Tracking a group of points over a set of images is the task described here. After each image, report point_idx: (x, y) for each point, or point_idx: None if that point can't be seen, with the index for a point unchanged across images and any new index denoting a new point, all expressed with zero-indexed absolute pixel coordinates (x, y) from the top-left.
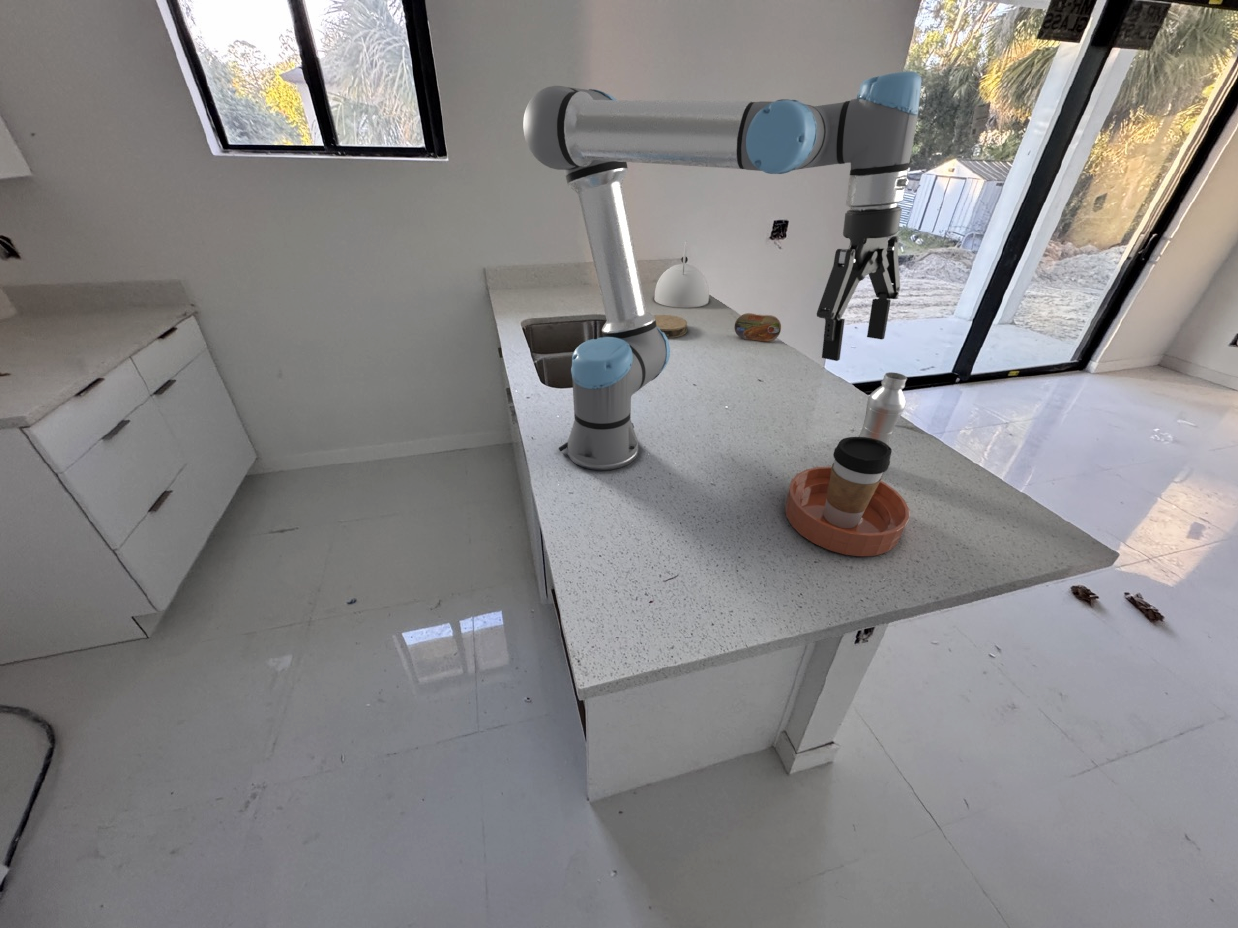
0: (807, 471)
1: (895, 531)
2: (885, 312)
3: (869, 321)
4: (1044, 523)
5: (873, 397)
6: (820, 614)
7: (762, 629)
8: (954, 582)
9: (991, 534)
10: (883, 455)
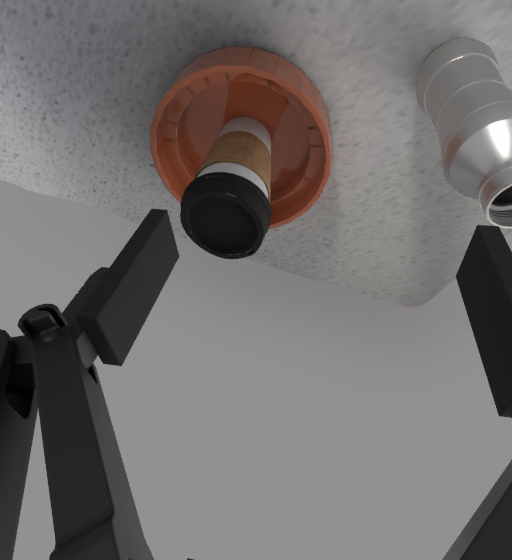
0: (243, 72)
1: None
2: (486, 361)
3: (498, 273)
4: (445, 276)
5: (468, 140)
6: (109, 205)
7: (42, 185)
8: (263, 253)
9: (376, 253)
10: (237, 246)
